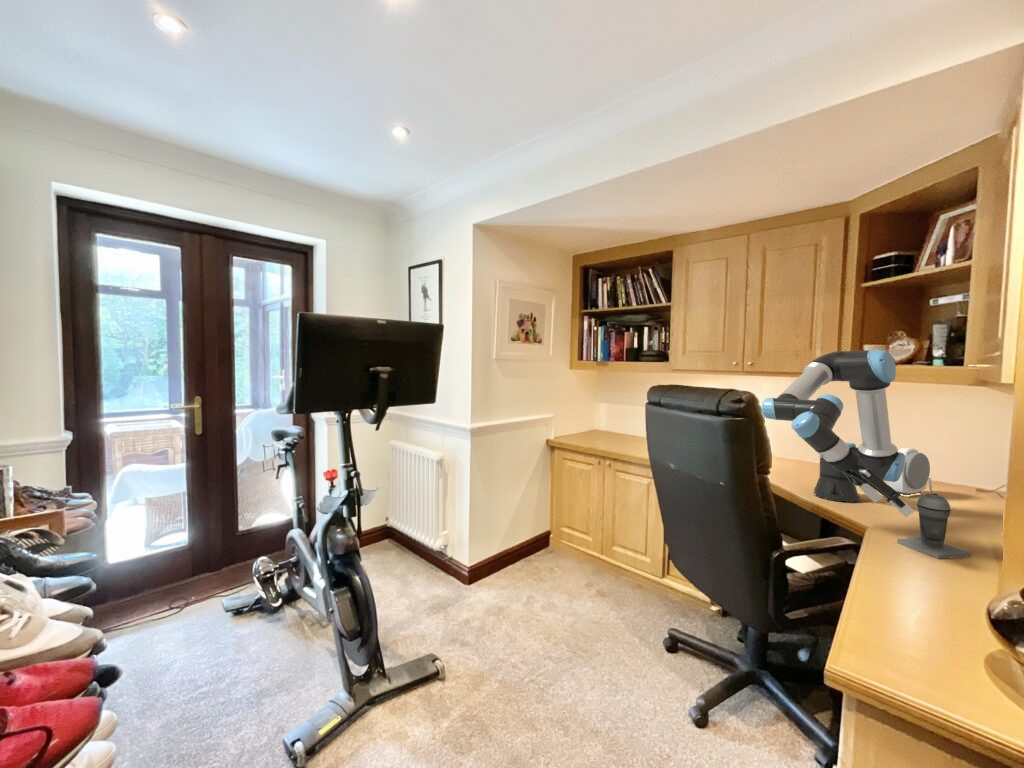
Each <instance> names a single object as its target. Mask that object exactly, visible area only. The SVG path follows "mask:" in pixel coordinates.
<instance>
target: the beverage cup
mask: <svg viewBox="0 0 1024 768" xmlns="http://www.w3.org/2000/svg"><path fill="white" fill-rule="evenodd" d="M927 481H928V487H929V493H924V494H921V495H920V497H919V498H918V499H917V503H916V508H917V512H918V519H919V520H918V521H919V530H920V538H921V541H922V544H923V545H925V546H928V547H931V548H937V549H942V548H943V544H944V543H945V539H946V532H947V526H948V520H949V517H950V514H951V512H952V509H951V506H950V502H949V501H948V499H946V498H945V497H944V496H942V495H940V494H937V493H933V489H932V488H933V487H932V480H931V477H929V478H928V480H927Z"/></svg>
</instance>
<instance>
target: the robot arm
mask: <svg viewBox="0 0 1024 768" xmlns="http://www.w3.org/2000/svg"><path fill="white" fill-rule="evenodd" d="M802 370H803V372H802V373H801V374H800V375H799V376H798V377H797V378H796V379H795V380H794V381H793V382H792V383H791V384H789V386H788V387H787V388H786V389H785V390H784V391H783V392H781V393H780V395H778V396H777V397H767V398H765V399H763V401H762V404H761V413H762V416H763V417H764V418H765V419H769V420H775V421H787V422H789V421H790V422H791V424H790V425H791V426H790V427H791V428H792V430H794V432H795V433H796V434H797V436H798V437H799V438H801V439H802V440H803V441H805V443H807V444H808V445H809V446H810V447H811V448H812V449H813V450H814V451H815V452H816V453H817V454H818V457H819V477H818V478H817V479H818V480H817V482H816V484H815V487H814V488H813V495H814V494H816V495H818V496H820V497H823V498H822V499H824V498H827V499H826V500H828V499H831V500H830V501H833V500H837V501H836V502H839V501H846V502H845V503H855V502H854V501H858V502H860V494H859V493H858V489H857V487H858V488H859V489H860V491H862V492H863V493H864V495H866V496H867V497H868V498H869V499H870V500H871V501H872V502H874V503H877V502H879V501H880V500H881V499H883V497H885V498H886V502H887V503H890V504H891V505H892V506H893V507H894V509H896V510H897V511H898V512H899V513H900V514H902V515H903V516H904V517H905V518H908V517H909V516H910V515H912V514H914V513H915V510H914V509H913V508H912V507H911V506H910V505H909V504H908V503H906V501H904V500H903V499H902V498H901V496H900V494H899V493H898V492H897V491H895V490H894V489H893V488H891V487H890V486H889V485H887V481H890V482H896V481H898V480H899V479H900V477H901V474H902V471H903V468H904V463H905V455H904V454H903V453H901V452H898V451H897V450H898V447H897V446H896V445H895V444H894V443H892V437H891V436H892V435H891V427H890V419H889V411H888V401H887V392H886V389H888V388H889V387H890V386H891V383H893V382H894V381H895V379H896V378H897V372H896V370H897V367H896V362H895V359H894V357H893V355H892V353H890V352H889V351H887V350H879V349H876V350H875V349H869V350H845V351H844V350H841V351H840V350H839V351H832V352H829V353H826V354H823V355H821V356H819V357H817V358H815V359H813V360H811V361H810V362H809V363H807V365H806V366H805V367H804V368H803V369H802ZM831 382H848V383H849V388H850V389H851V390H853V391H854V392H855V398H856V405H857V413H858V419H859V420H858V421H859V429H860V436H861V442H862V443H860V444H859V445H858V446H856V444H855V443H853V442H845V441H844V440H843V439H842V438H841V437H840V436H839V435H837V434H836V433H835V432H834V430H833V428H834V427H835V425H836V423H837V422H838V420H839V418H840V417H841V414H842V411H843V409H844V403H843V401H842V400H841V399H840V398H839V397H837V396H835V395H833V394H827V393H826V394H821V395H819V396H818V397H817V398H816V399H815V400H814V399H810V398H812V396H813V395H814V394H816V392H817V391H818V390H819V389H820V388H821V387H822V386H825V385H827V384H829V383H831ZM816 495H815V496H816ZM818 496H817V497H818ZM820 497H819V498H820Z"/></svg>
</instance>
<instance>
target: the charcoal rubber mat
mask: <svg viewBox="0 0 1024 768" xmlns="http://www.w3.org/2000/svg"><path fill="white" fill-rule="evenodd" d="M896 542H897V543H896V544H899V545H901V546H903V547H906V548H909V549H912V550H915V551H917V552H920V553H923V554H924V553H925V555H927V556H930V555H931V556H930V557H932V556H934V557H933V558H935V557H936V558H935V559H937V558H944V559H951V558H950V557H959V558H971V557H972V555H971V554H972V553H971V552H970V551H967V550H965V549H961V548H959V547H956V546H953V545H950V544H947V543H945V542H944V544H943V548H942V549H937V548H931V547H928V546H925V545H923V544H922V541H921V537H911V538H910V537H909V538H897V541H896ZM967 556H968V557H967ZM970 556H971V557H970Z"/></svg>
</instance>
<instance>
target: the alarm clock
mask: <svg viewBox="0 0 1024 768" xmlns="http://www.w3.org/2000/svg"><path fill="white" fill-rule="evenodd" d="M897 451H898V452H901V453H903V454H904V455H905V463H904V468H903V471H902V474H901V477H900V479H899V480H898V481H896V482H890V481H886V484H887V485H889V486H890V487H891V488H893V489H894V490H895V491H897V492H898V493H899V494H903V495H911V494H916V493H921V494H922V492H923V491H925V490H926V489H927V484H928V481H929V480H928V478H930V477H929V476H930V473H931V465H930V460H929V458H928V457H927V455H926V454H924V453H922V452H919V450H917V449H915V448H910V447H902V448H899V449H897Z"/></svg>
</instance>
